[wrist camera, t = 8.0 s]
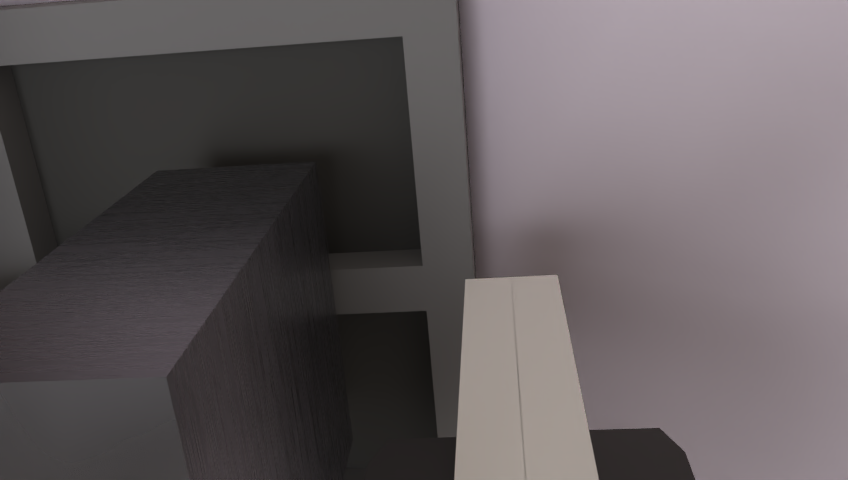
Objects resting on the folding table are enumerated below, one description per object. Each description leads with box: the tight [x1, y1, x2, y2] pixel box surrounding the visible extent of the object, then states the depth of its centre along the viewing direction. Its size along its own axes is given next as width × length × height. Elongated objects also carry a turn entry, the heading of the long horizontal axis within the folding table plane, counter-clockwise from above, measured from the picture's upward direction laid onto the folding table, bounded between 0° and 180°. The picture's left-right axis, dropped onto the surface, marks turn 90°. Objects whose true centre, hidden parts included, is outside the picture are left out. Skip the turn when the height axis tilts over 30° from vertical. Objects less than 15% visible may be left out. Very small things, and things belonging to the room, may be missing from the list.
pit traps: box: [0, 0, 476, 480], centre depth 17 cm, size 10×12×1 cm
